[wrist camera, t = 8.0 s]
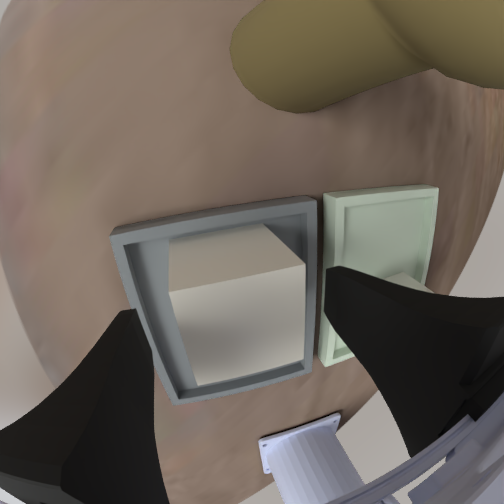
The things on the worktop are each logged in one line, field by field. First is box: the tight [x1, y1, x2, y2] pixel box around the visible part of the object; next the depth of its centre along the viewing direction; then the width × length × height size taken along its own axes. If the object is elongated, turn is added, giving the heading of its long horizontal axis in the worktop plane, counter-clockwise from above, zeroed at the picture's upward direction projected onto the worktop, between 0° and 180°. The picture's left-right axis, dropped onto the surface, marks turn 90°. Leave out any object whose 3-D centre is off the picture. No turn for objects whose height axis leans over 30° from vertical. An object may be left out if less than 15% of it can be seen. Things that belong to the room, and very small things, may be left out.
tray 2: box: [318, 184, 439, 367], centre depth 16 cm, size 11×8×1 cm
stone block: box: [169, 223, 306, 386], centre depth 11 cm, size 4×4×4 cm
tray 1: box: [109, 195, 317, 405], centre depth 14 cm, size 11×9×1 cm
